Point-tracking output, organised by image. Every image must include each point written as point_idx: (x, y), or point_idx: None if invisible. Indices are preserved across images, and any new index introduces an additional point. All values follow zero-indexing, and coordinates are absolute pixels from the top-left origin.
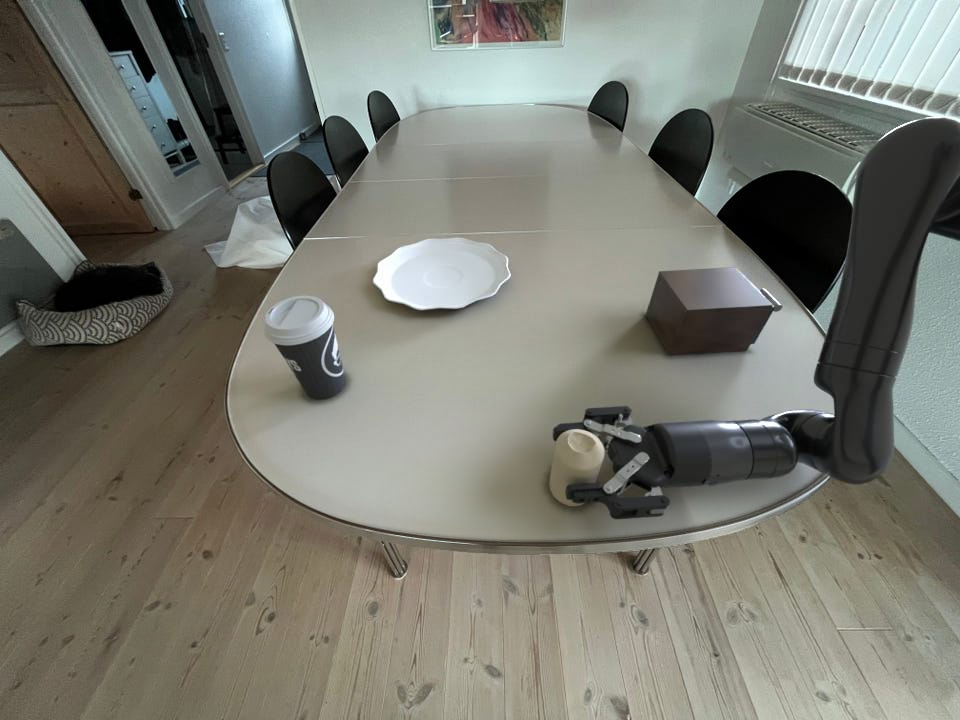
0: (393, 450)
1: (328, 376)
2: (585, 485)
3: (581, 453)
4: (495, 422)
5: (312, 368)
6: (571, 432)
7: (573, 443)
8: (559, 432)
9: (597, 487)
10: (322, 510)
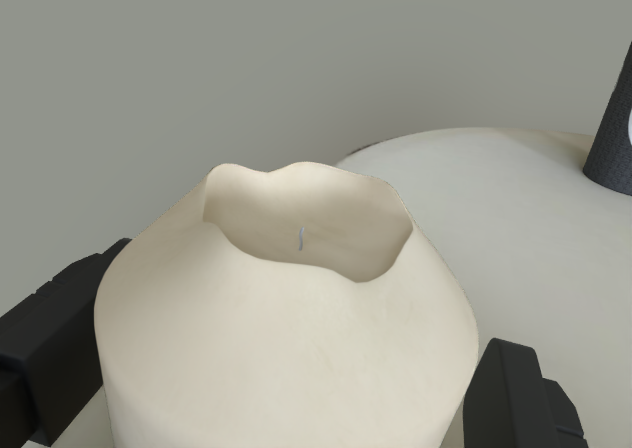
0: (478, 208)
1: (625, 132)
2: (86, 286)
3: (213, 170)
4: (607, 396)
5: (623, 92)
6: (414, 222)
7: (328, 221)
8: (493, 365)
9: (14, 327)
10: (374, 145)
